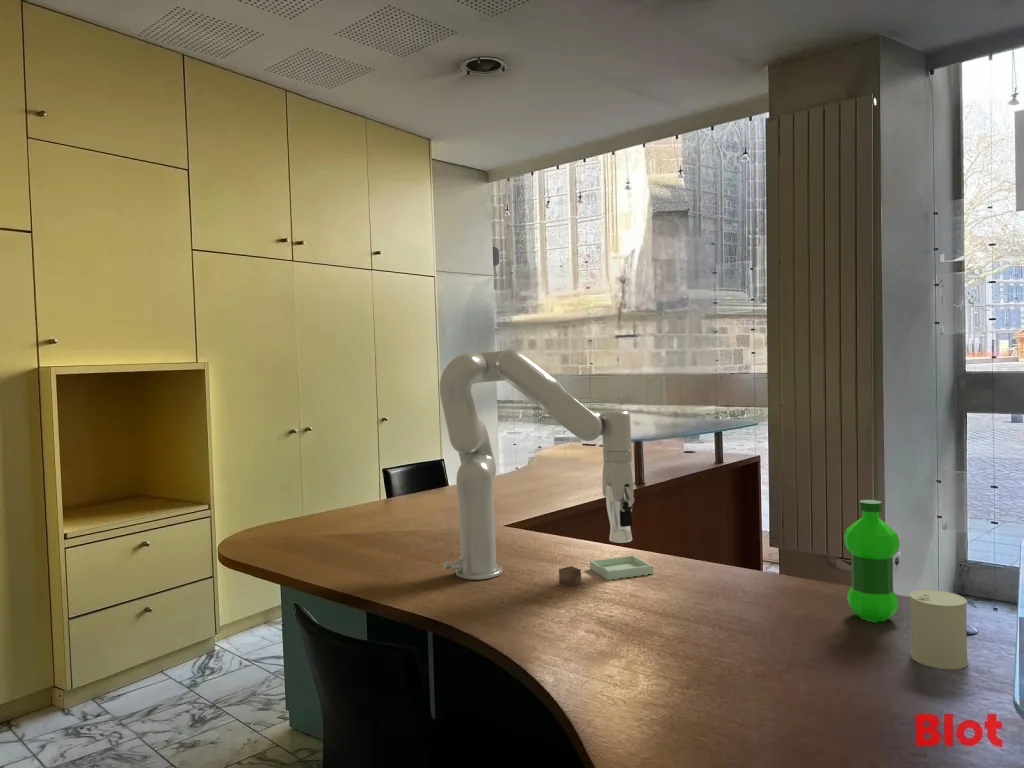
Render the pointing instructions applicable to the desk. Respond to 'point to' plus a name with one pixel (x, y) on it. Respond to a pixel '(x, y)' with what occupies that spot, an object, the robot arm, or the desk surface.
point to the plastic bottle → (872, 564)
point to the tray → (621, 567)
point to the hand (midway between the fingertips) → (620, 522)
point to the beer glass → (616, 519)
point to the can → (938, 629)
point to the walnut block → (570, 576)
